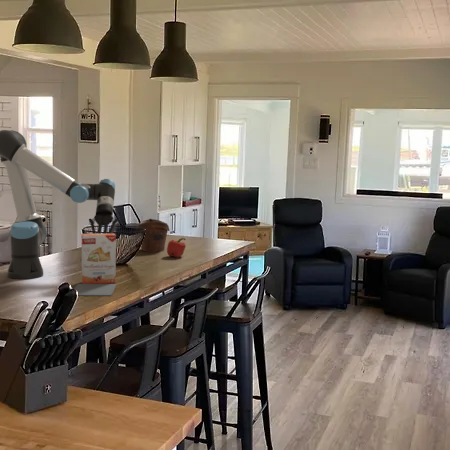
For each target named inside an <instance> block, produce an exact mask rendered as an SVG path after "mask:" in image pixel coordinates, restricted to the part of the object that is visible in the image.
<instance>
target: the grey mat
mask: <svg viewBox="0 0 450 450" xmlns="http://www.w3.org/2000/svg"><path fill="white" fill-rule="evenodd" d="M117 285H118V283H108V284H82V283H77V284H76V286H75V287H74V288H73V289H76V290H77V291H78V295H79V296H81V297H85V296H86V297H87V296H88V297H90V296H91V297H94V296H95V297H112V296H113V293H114V291H115V289H116V287H117ZM79 296H78V297H79Z"/></svg>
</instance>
